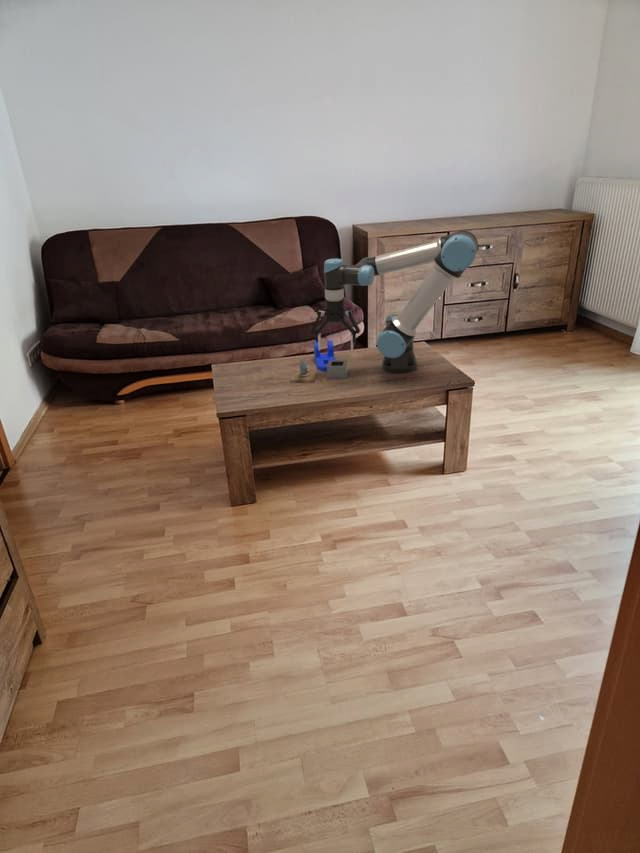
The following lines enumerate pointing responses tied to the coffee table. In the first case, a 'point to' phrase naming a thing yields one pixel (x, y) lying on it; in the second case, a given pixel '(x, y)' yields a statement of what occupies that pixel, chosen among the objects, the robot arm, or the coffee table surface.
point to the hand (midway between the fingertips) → (335, 349)
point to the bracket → (323, 356)
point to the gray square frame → (337, 369)
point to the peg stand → (303, 374)
